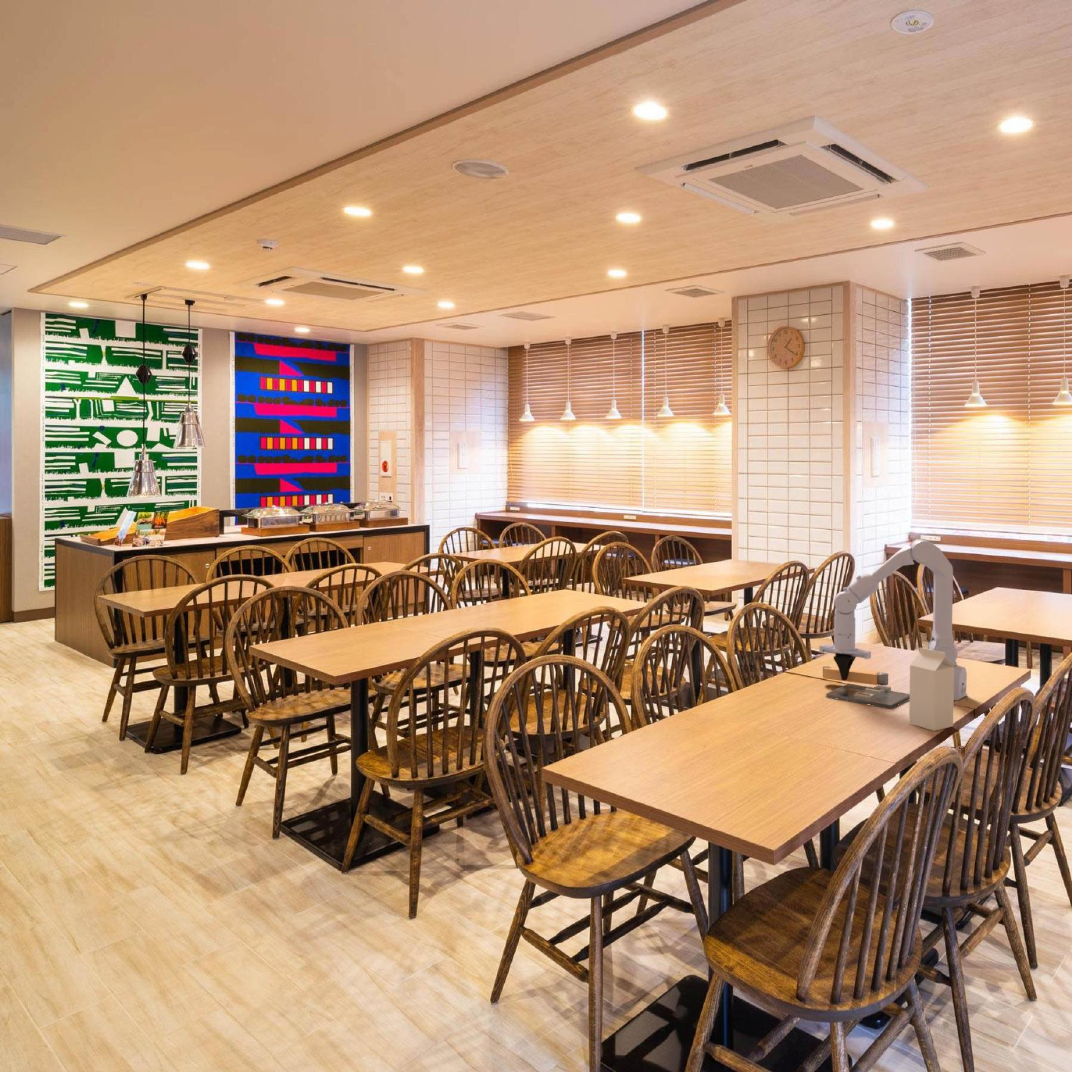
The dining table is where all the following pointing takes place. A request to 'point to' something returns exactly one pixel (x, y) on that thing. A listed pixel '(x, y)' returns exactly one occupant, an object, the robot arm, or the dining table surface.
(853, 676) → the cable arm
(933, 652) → the milk carton
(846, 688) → the server tray
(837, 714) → the dining table surface
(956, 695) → the robot arm
